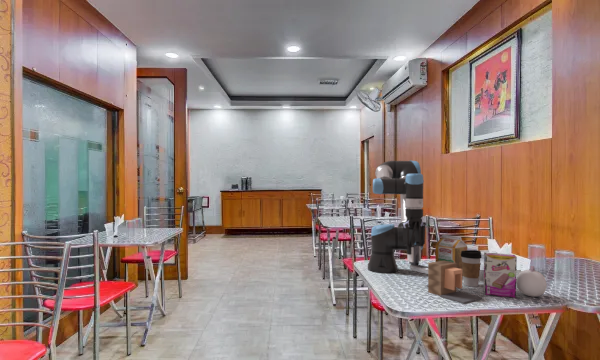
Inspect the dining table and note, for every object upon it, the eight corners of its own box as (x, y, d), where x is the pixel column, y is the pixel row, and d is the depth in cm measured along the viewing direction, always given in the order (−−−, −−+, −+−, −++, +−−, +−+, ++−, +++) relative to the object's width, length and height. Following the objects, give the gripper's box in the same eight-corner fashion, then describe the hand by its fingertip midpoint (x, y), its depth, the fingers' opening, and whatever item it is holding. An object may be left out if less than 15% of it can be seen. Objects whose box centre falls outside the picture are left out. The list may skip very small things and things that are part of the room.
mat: (440, 296, 143) (440, 295, 143) (459, 292, 149) (459, 290, 149) (463, 304, 134) (463, 302, 134) (482, 298, 140) (482, 297, 140)
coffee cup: (484, 288, 156) (484, 252, 156) (462, 286, 157) (463, 252, 158) (478, 283, 164) (478, 249, 164) (458, 281, 166) (458, 248, 166)
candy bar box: (485, 295, 145) (485, 254, 146) (483, 292, 150) (483, 252, 150) (517, 298, 142) (517, 256, 142) (514, 294, 146) (514, 253, 147)
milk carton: (467, 275, 179) (467, 236, 179) (454, 277, 173) (454, 237, 173) (448, 270, 188) (448, 233, 188) (435, 273, 182) (435, 235, 182)
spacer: (444, 287, 145) (444, 268, 145) (453, 285, 148) (453, 267, 148) (453, 290, 141) (453, 271, 141) (462, 288, 144) (462, 269, 144)
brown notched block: (428, 292, 149) (428, 262, 149) (443, 288, 154) (443, 260, 154) (440, 296, 144) (440, 265, 144) (456, 292, 149) (456, 263, 149)
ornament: (547, 301, 138) (547, 269, 138) (515, 297, 144) (515, 266, 144) (546, 294, 147) (546, 265, 147) (516, 290, 152) (516, 262, 152)
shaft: (407, 270, 162) (407, 245, 162) (413, 269, 164) (413, 244, 164) (448, 280, 144) (448, 252, 144) (455, 279, 146) (455, 251, 146)
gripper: (407, 209, 154) (407, 264, 154) (433, 208, 163) (433, 260, 163) (394, 208, 160) (394, 261, 160) (420, 207, 170) (419, 257, 169)
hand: (414, 261), depth 161 cm, fingers closed on shaft, 4 cm apart
